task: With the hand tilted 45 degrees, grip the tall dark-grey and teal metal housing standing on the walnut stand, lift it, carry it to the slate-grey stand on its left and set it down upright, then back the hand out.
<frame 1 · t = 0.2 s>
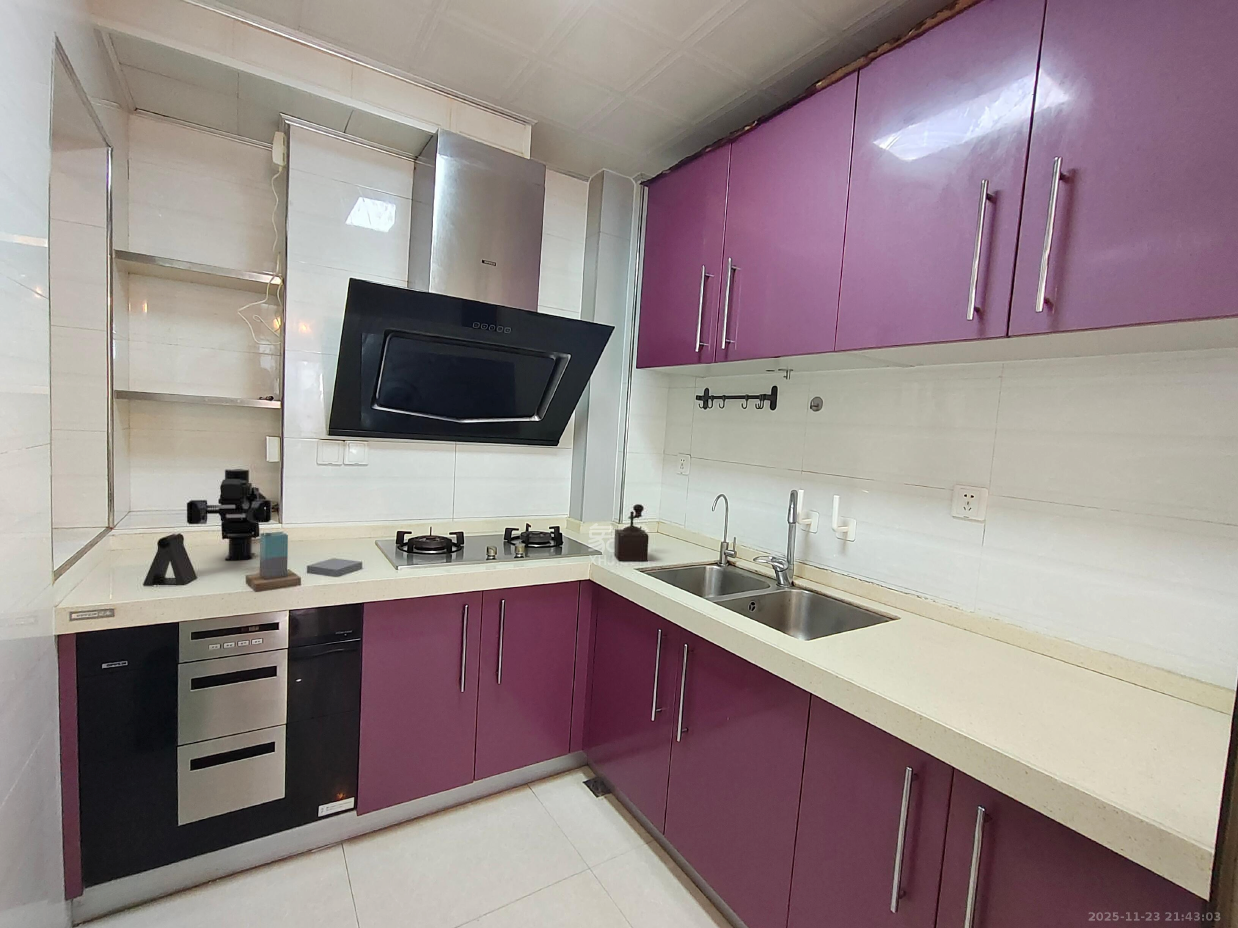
hand: (224, 517, 142), 17 cm above the countertop, tool horizontal, fingers open, 9 cm apart
manual coffee grinder: (629, 556, 194), on the countertop
stand A: (273, 583, 142), on the countertop
phone stand: (170, 583, 139), on the countertop
housing: (273, 576, 142), point 2 cm above the countertop, touching stand A
stand B: (335, 570, 157), on the countertop
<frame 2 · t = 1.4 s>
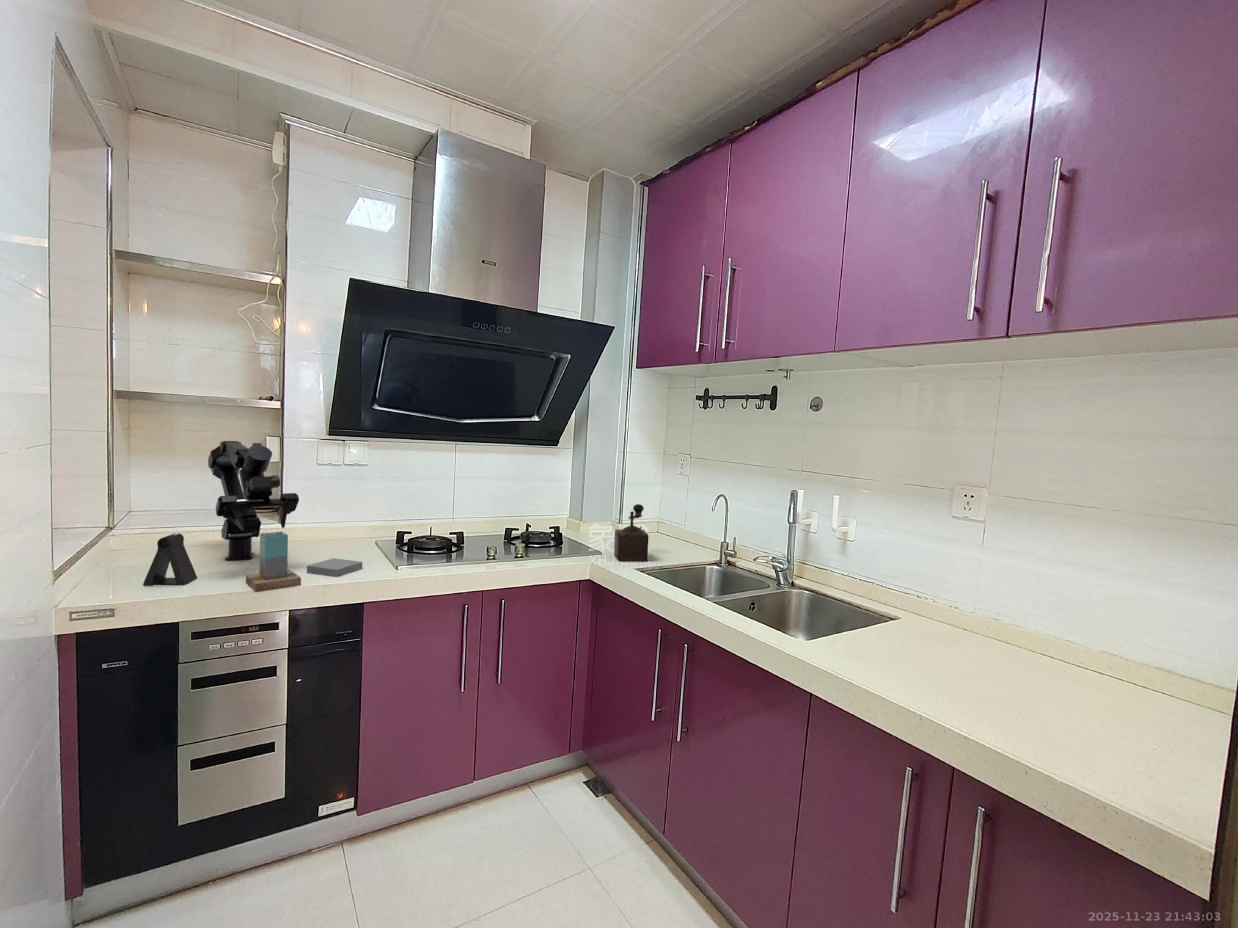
hand: (264, 528, 148), 13 cm above the countertop, tool tilted 45°, fingers open, 9 cm apart
nothing on the countertop moved.
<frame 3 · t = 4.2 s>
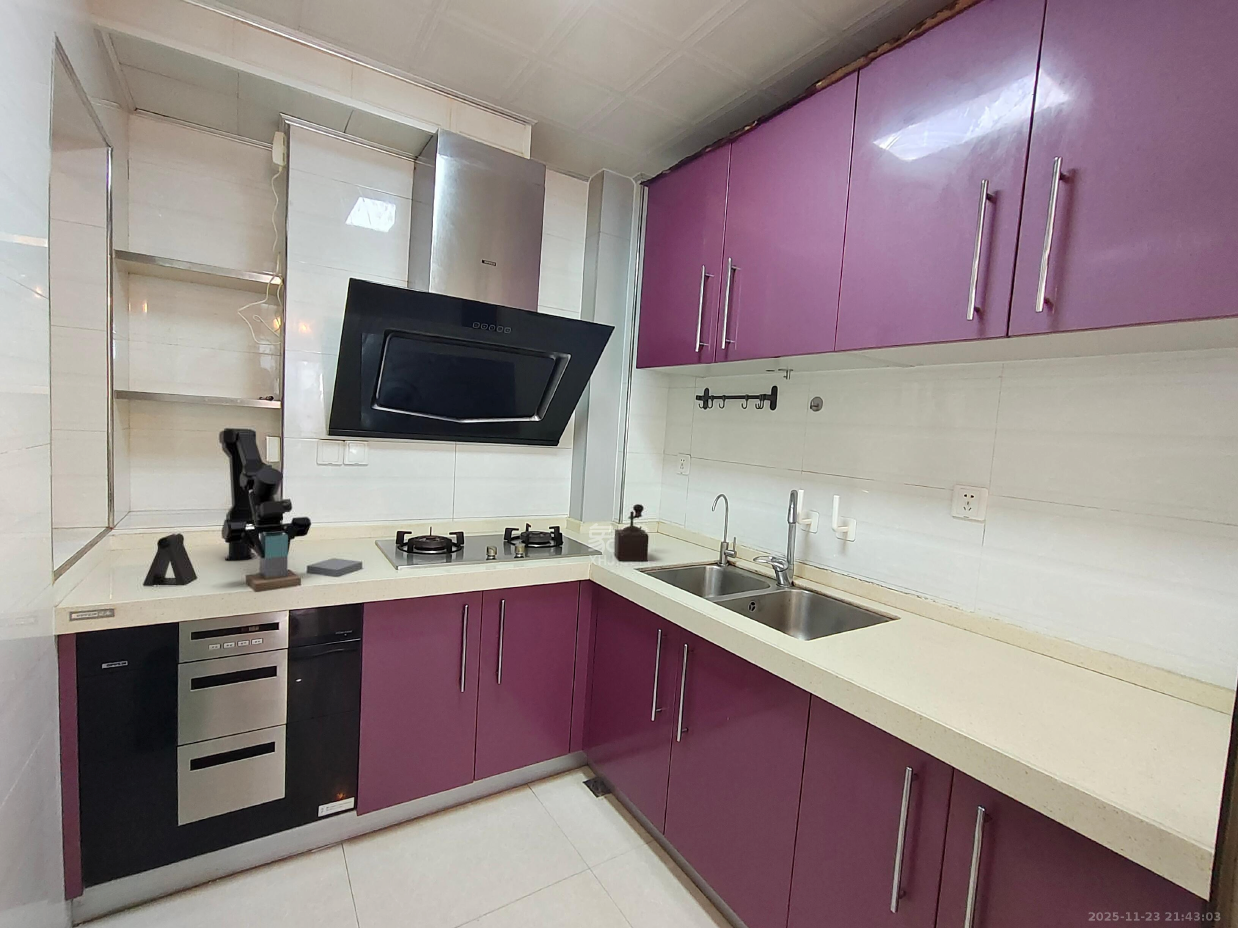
hand: (275, 556, 141), 8 cm above the countertop, tool tilted 45°, fingers closed on housing, 5 cm apart
housing: (273, 576, 142), point 2 cm above the countertop, touching gripper, stand A
everything else where it was.
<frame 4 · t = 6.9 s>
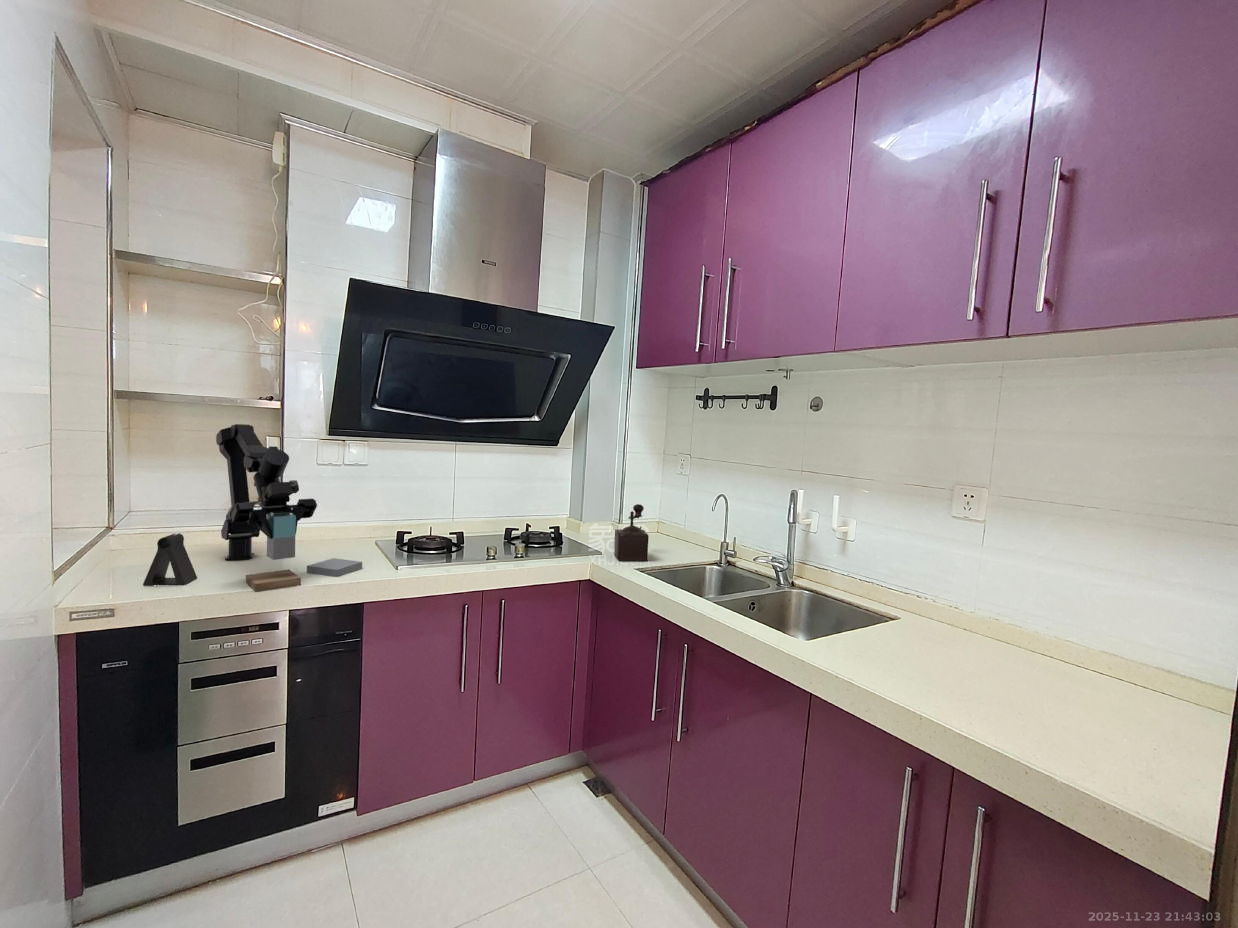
hand: (283, 536, 142), 12 cm above the countertop, tool tilted 45°, fingers closed on housing, 5 cm apart
housing: (280, 556, 143), point 7 cm above the countertop, touching gripper
everything else where it was.
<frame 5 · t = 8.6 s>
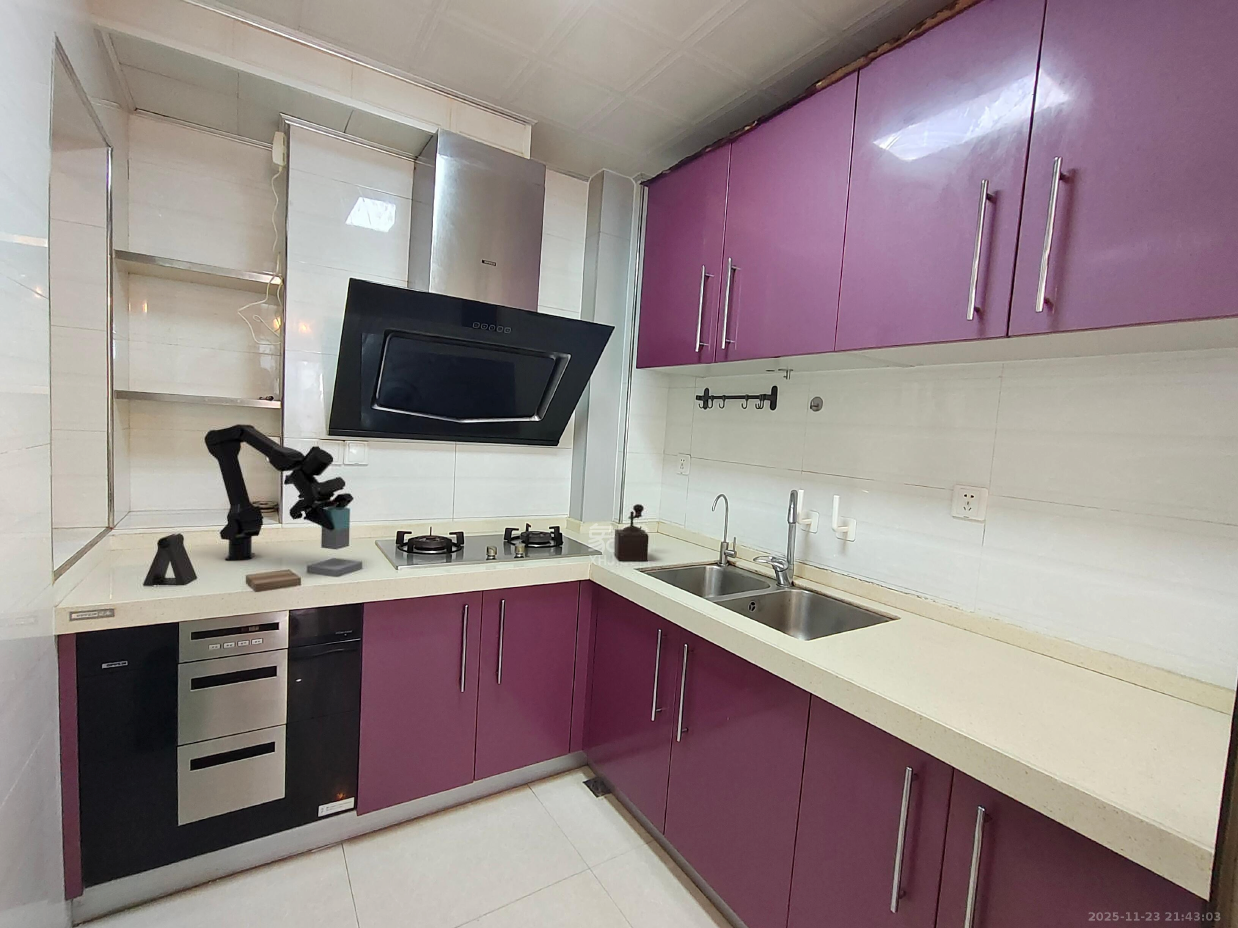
hand: (339, 528, 156), 12 cm above the countertop, tool tilted 45°, fingers closed on housing, 5 cm apart
housing: (335, 546, 157), point 7 cm above the countertop, touching gripper
everything else where it was.
when the fingers open (8 cm above the countertop, at t = 9.9 s): housing stays where it is, resting on stand B.
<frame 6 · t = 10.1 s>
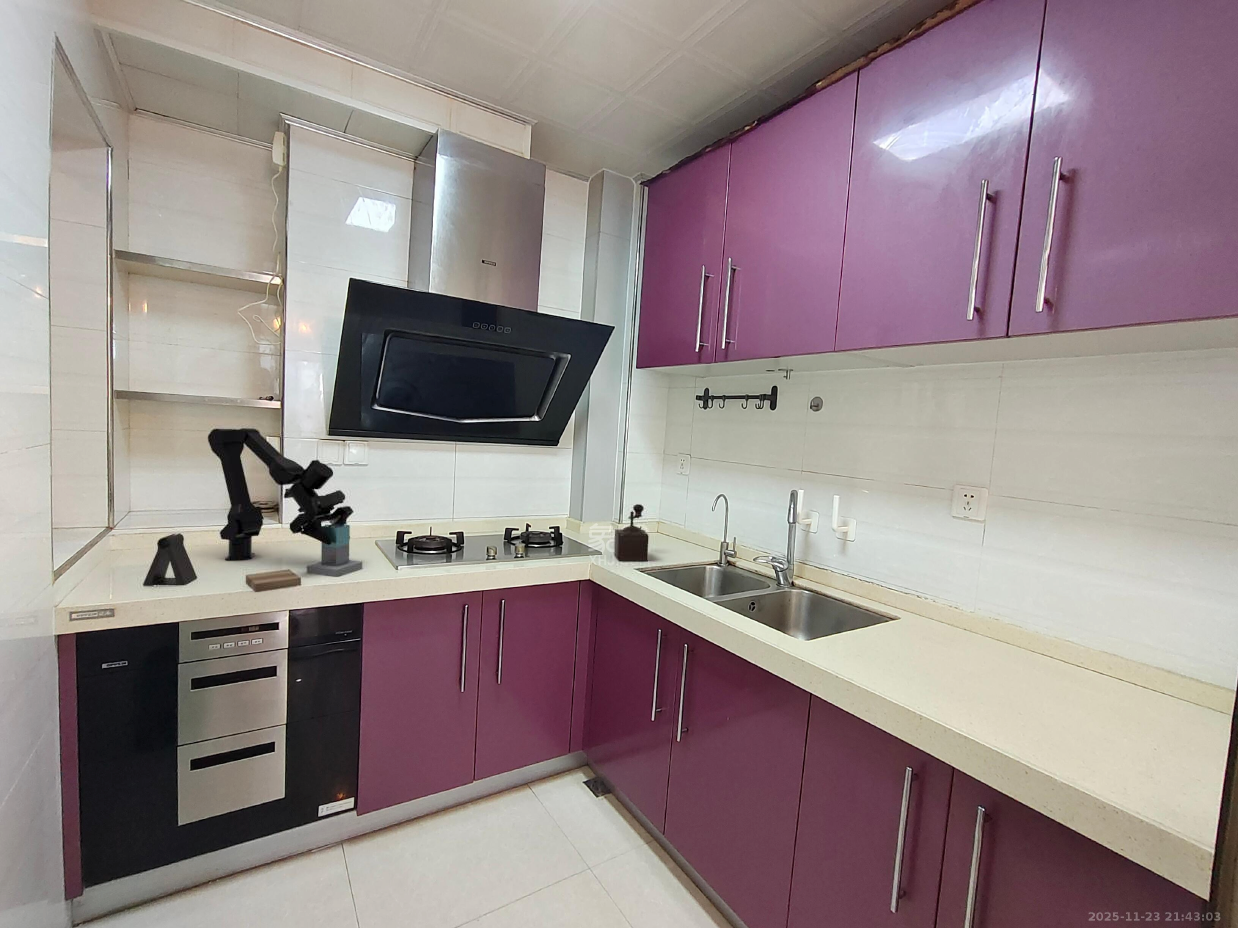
hand: (339, 541, 156), 9 cm above the countertop, tool tilted 45°, fingers open, 7 cm apart
housing: (335, 563, 157), point 2 cm above the countertop, touching stand B
everything else where it was.
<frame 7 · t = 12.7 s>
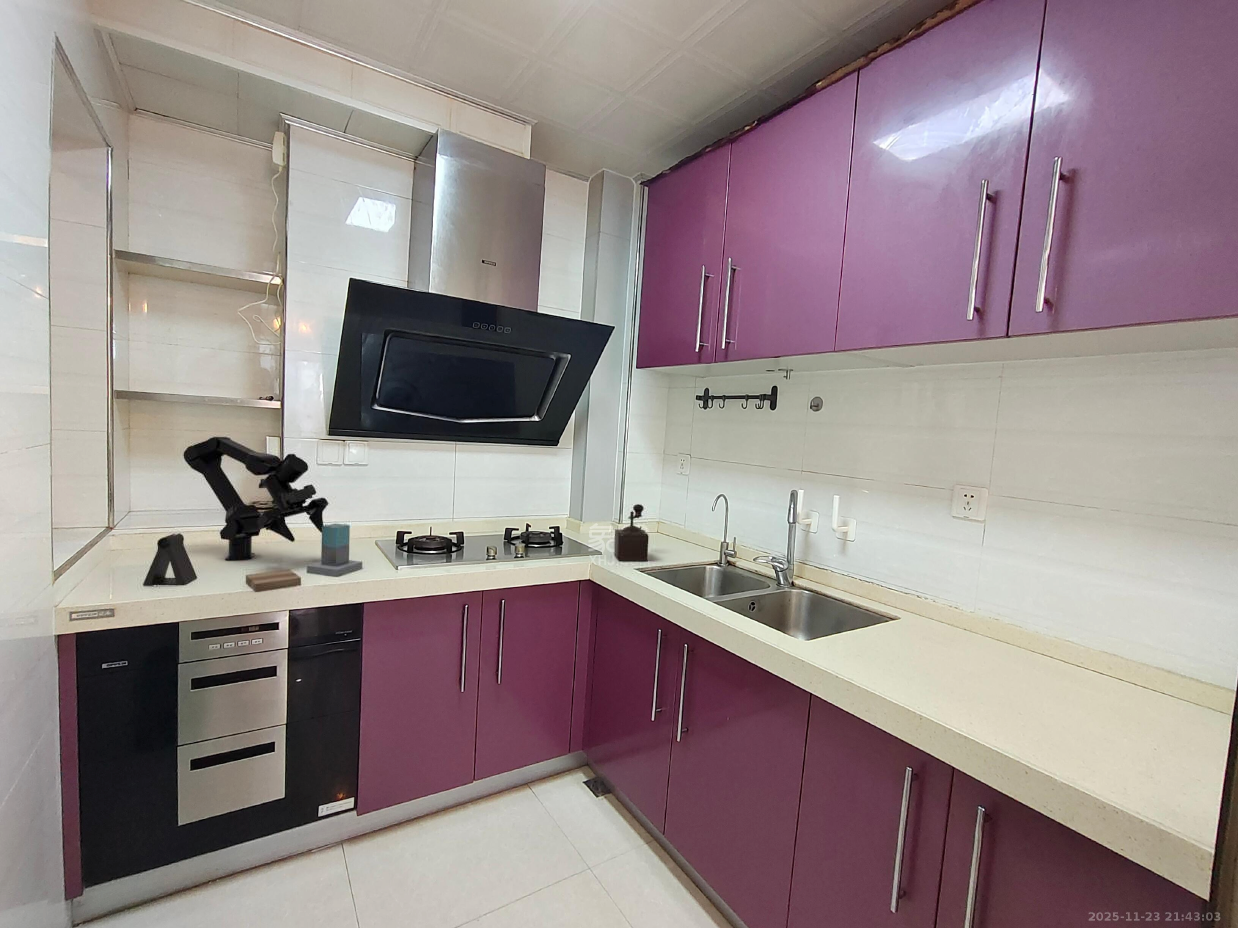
hand: (308, 536, 158), 9 cm above the countertop, tool tilted 40°, fingers open, 9 cm apart
nothing on the countertop moved.
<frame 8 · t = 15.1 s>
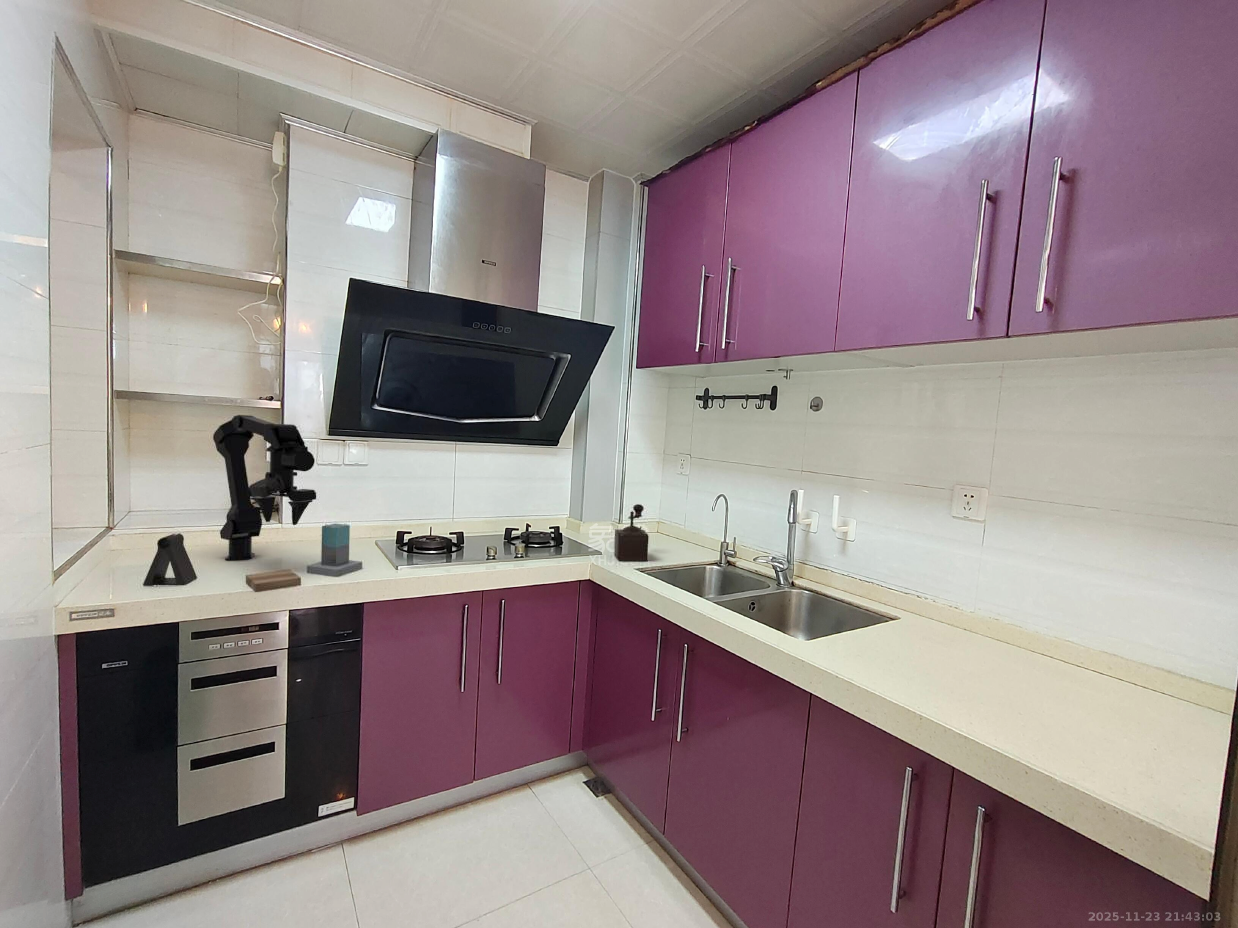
hand: (281, 523, 156), 13 cm above the countertop, tool pointing down, fingers open, 9 cm apart
nothing on the countertop moved.
at the end: housing 0.0 cm off-centre on the stand B, point 2.0 cm above the stand B's base; housing tilted 0°; the gripper is holding nothing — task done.
